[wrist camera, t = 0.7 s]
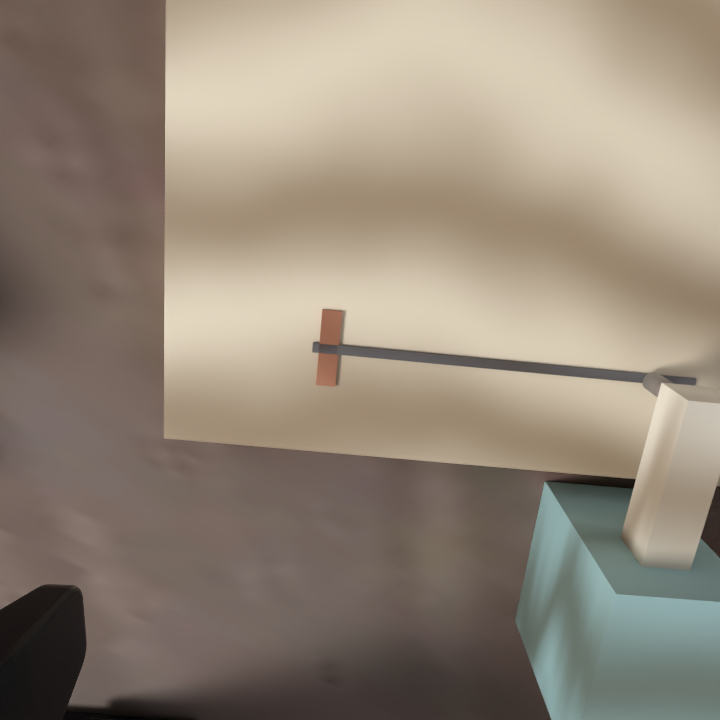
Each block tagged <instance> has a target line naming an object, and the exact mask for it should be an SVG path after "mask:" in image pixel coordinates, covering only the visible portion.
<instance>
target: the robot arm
mask: <svg viewBox="0 0 720 720" xmlns="http://www.w3.org/2000/svg"><path fill="white" fill-rule="evenodd" d="M85 653H86V630H85V618H84V605H83V596H82V592H81V590H80V589H79V588H78V587H77V586H75V585H54V584H47V585H42V586H40V587H38V588H36V589H35V590H33V591H31V592H30V593H28V594H26V595H24V596H23V597H21V598H19V599H18V600H16V601H14V602H13V603H11V604H9V605H7V606H6V607H4V608H2V609H1V610H0V720H169V719H154V718H139V717H124V716H110V715H95V714H80V713H65V711H66V708H67V705H68V703H69V700H70V697H71V695H72V692H73V689H74V687H75V684H76V681H77V679H78V676H79V673H80V671H81V668H82V665H83V662H84V658H85Z"/></svg>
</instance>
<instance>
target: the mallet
mask: <svg viewBox="0 0 720 720" xmlns="http://www.w3.org/2000/svg"><path fill="white" fill-rule="evenodd" d="M643 386H644V388H645V389H647V390H648V391H649V392H651V393H652V394H653V395H655V396H656V397H657V401H656V405H655V409H654V413H653V417H652V420H651V424H650V428H649V432H648V436H647V439H646V443H645V447H644V451H643V454H642V458H641V462H640V466H639V470H638V473H637V477H636V481H635V485H634V488H633V489H630V488H618V487H607V486H595V485H583V484H572V483H560V482H548V481H545V484H544V488H543V493H542V498H541V502H540V507H539V512H538V516H537V521H536V526H535V530H534V535H533V540H532V544H531V549H530V554H529V558H528V563H527V568H526V572H525V577H524V582H523V586H522V591H521V596H520V600H519V605H518V610H517V614H516V619H515V622H516V625H517V627H518V630H519V633H520V636H521V638H522V641H523V644H524V646H525V649H526V652H527V655H528V657H529V660H530V663H531V666H532V668H533V671H534V674H535V676H536V679H537V682H538V685H539V687H540V690H541V693H542V696H543V698H544V701H545V704H546V706H547V709H548V712H549V715H550V717H551V720H720V558H719V557H718V556H717V555H716V554H715V552H714V551H713V550H712V549H711V548H710V547H709V546H708V545H707V544H706V543H705V542H704V541H703V540H702V539H701V538H700V537H701V534H702V531H703V528H704V525H705V521H706V518H707V515H708V512H709V508H710V505H711V502H712V499H713V496H714V492H715V489H716V486H717V483H718V479H719V476H720V393H719V392H718V391H716V390H714V389H713V388H711V387H705V386H694V385H683V384H674V383H672V382H671V381H669V380H668V379H666V378H665V377H663V376H662V375H660V374H659V373H656V372H651V373H649V374H647V375H646V376H645V377H644V379H643Z"/></svg>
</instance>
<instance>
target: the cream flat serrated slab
mask: <svg viewBox="0 0 720 720" xmlns="http://www.w3.org/2000/svg"><path fill="white" fill-rule="evenodd" d="M651 372H656V373H659V374H660V375H662V376H663V377H665V378H666V379H668V380H669V381H671V382H672V383H674V384H683V385H694V386H705V387H711V388H713V389H714V390H716V391H718V392H719V393H720V0H166V105H165V305H164V438H167V439H179V440H190V441H202V442H213V443H225V444H237V445H248V446H260V447H271V448H283V449H294V450H306V451H317V452H329V453H340V454H352V455H364V456H375V457H387V458H398V459H410V460H421V461H433V462H444V463H456V464H467V465H479V466H491V467H502V468H514V469H525V470H537V471H548V472H560V473H571V474H583V475H595V476H606V477H618V478H629V479H636V477H637V473H638V470H639V466H640V462H641V458H642V454H643V451H644V447H645V443H646V439H647V436H648V432H649V428H650V424H651V420H652V417H653V413H654V409H655V405H656V401H657V397H656V396H655V395H653V394H652V393H651V392H649V391H648V390H647V389H645V388H644V386H643V379H644V377H645V376H646V375H647V374H649V373H651ZM717 486H720V476H719V479H718V483H717Z"/></svg>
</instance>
